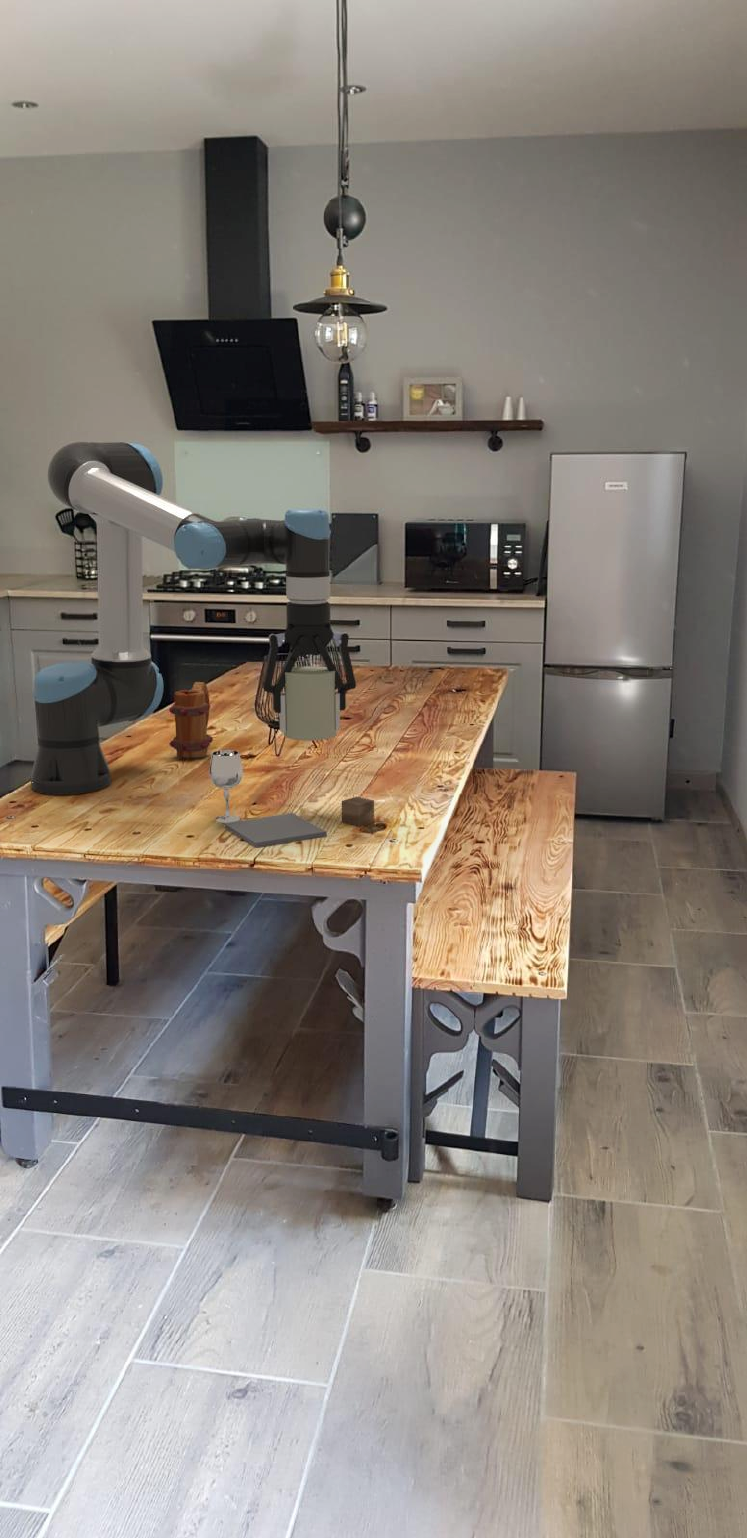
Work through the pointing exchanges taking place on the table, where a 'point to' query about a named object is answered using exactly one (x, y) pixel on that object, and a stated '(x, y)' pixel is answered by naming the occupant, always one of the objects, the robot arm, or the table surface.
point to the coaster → (275, 830)
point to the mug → (191, 722)
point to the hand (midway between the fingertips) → (309, 729)
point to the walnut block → (358, 811)
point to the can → (310, 703)
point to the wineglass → (226, 777)
